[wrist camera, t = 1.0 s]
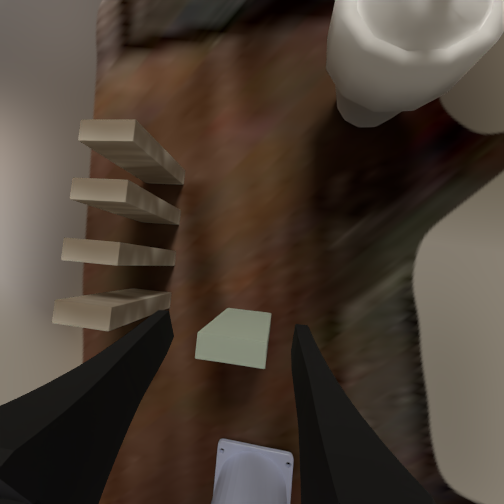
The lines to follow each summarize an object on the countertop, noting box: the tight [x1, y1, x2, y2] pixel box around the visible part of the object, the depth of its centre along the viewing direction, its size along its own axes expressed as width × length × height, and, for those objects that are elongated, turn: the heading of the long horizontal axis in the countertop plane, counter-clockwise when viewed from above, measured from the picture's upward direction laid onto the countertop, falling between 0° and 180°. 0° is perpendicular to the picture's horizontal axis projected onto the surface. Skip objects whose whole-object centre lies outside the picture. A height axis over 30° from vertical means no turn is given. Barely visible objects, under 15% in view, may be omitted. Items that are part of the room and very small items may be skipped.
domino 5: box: [195, 308, 271, 369], centre depth 19 cm, size 2×5×9 cm, turn 85°
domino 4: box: [52, 288, 171, 331], centre depth 21 cm, size 2×5×9 cm, turn 85°
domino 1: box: [78, 120, 185, 185], centre depth 21 cm, size 2×5×9 cm, turn 85°
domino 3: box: [61, 238, 176, 266], centre depth 21 cm, size 2×5×9 cm, turn 85°
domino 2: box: [70, 178, 181, 225], centre depth 21 cm, size 2×5×9 cm, turn 85°
